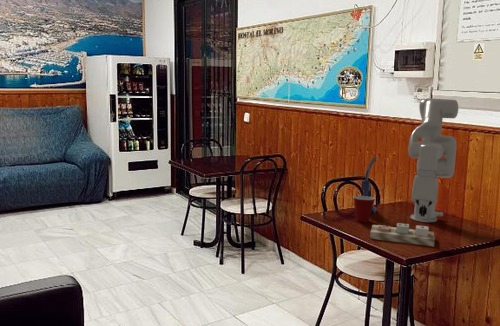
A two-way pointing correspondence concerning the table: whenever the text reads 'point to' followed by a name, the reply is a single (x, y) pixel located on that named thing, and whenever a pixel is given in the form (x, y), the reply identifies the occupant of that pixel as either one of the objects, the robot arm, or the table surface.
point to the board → (402, 236)
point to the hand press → (368, 184)
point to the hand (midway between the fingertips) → (422, 215)
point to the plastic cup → (363, 207)
